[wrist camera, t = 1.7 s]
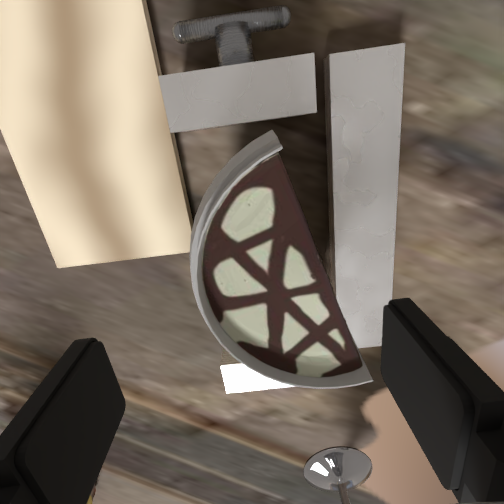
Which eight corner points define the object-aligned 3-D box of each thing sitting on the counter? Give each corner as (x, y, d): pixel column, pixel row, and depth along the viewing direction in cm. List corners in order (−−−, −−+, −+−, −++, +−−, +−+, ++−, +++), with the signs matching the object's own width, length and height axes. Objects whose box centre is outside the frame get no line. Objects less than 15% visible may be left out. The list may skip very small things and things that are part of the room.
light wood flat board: (128, -84, 15) (120, -98, 14) (198, 246, 22) (195, 251, 21) (-59, -51, 16) (-79, -62, 15) (65, 262, 23) (57, 268, 22)
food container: (178, 168, 20) (116, 205, 11) (264, 127, 19) (276, 130, 10) (254, 313, 24) (256, 427, 15) (327, 285, 24) (376, 389, 14)
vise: (394, 3, 17) (449, -43, 12) (381, 332, 25) (411, 379, 21) (171, 38, 17) (143, 6, 13) (231, 348, 26) (227, 397, 21)
